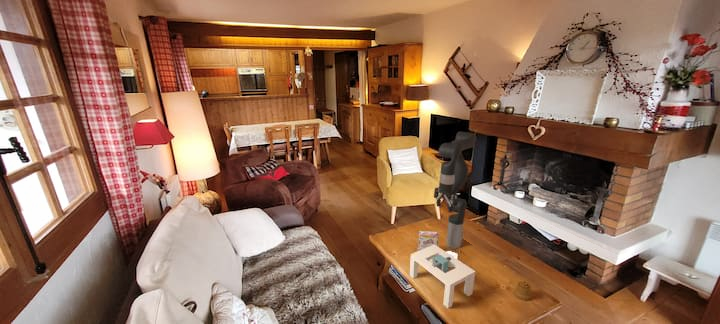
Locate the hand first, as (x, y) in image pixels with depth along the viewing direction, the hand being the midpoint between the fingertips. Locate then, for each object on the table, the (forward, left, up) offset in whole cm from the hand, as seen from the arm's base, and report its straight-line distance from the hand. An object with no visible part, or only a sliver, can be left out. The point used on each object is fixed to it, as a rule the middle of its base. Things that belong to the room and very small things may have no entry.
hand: (444, 209), depth 157 cm
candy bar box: (-2, -12, -38) cm, 40 cm away
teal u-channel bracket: (+10, +10, -31) cm, 34 cm away
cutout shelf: (+10, +10, -38) cm, 41 cm away
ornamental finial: (-20, +38, -38) cm, 58 cm away
